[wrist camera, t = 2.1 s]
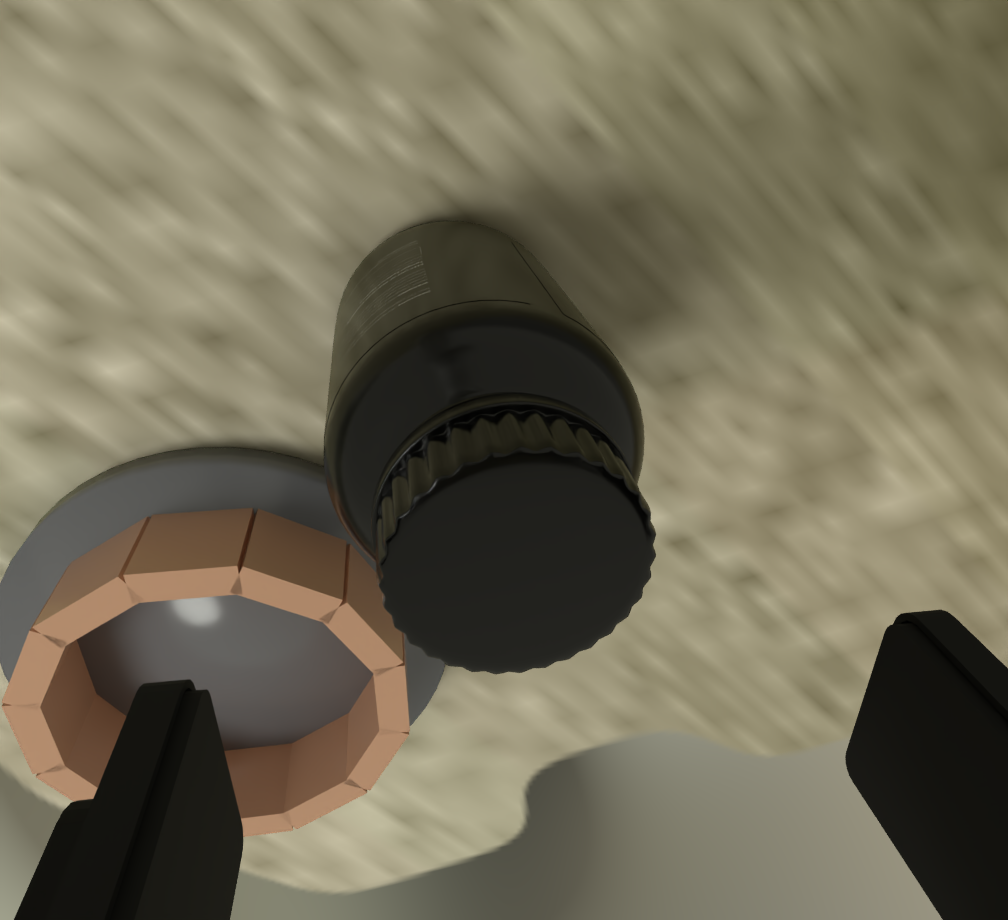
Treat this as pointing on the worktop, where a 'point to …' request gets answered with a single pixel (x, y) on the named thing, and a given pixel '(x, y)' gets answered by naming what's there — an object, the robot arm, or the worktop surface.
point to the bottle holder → (210, 630)
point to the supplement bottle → (485, 452)
